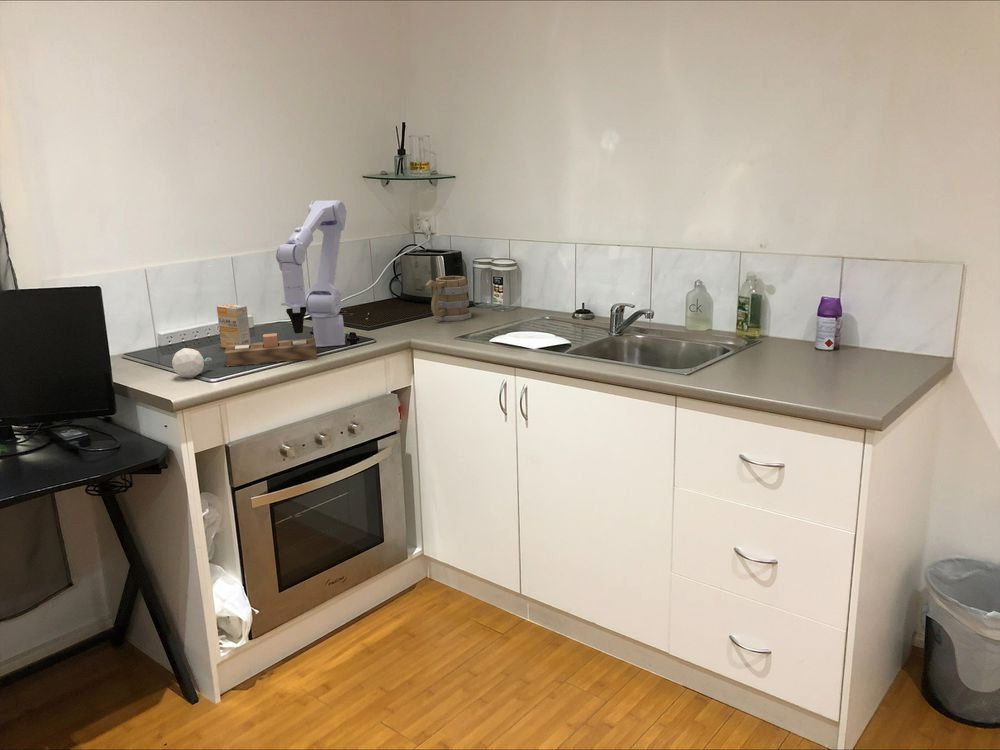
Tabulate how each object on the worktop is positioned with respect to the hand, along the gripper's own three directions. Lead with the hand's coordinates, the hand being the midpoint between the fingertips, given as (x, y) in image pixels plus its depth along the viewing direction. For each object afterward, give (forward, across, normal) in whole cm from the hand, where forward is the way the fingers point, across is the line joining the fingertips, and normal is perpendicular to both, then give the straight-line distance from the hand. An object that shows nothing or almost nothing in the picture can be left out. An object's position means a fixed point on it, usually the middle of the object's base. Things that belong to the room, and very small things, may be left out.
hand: (298, 332), depth 234 cm
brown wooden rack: (+7, 0, -8) cm, 11 cm away
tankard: (+8, -36, +50) cm, 62 cm away
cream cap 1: (+6, 0, -16) cm, 17 cm away
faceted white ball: (+7, +11, -28) cm, 31 cm away
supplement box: (+7, -19, -19) cm, 28 cm away
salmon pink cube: (+4, 0, -8) cm, 9 cm away
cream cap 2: (+6, 0, 0) cm, 6 cm away
